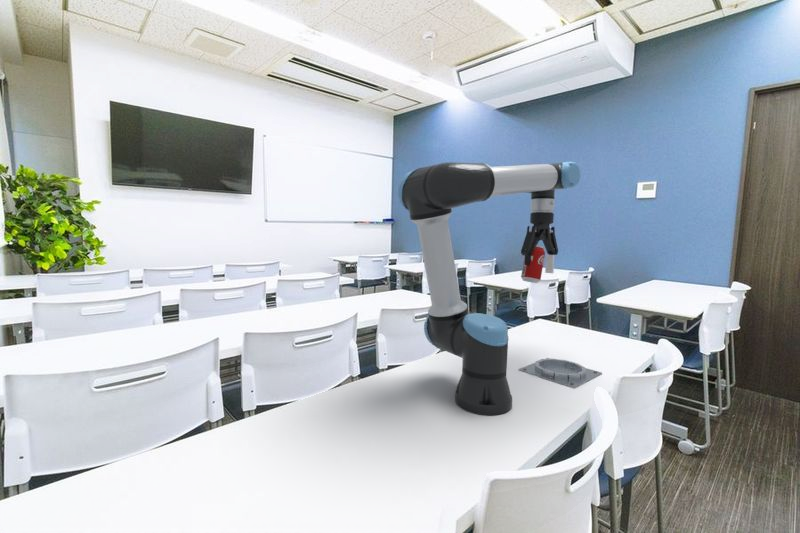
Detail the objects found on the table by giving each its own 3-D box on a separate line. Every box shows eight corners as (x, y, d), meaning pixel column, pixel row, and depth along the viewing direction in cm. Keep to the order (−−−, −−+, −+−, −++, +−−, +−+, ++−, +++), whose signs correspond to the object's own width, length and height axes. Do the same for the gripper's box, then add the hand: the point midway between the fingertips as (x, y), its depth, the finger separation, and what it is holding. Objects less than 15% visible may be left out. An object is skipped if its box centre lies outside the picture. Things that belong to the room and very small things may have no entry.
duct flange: (574, 388, 114) (575, 381, 114) (518, 370, 129) (518, 364, 129) (601, 374, 127) (602, 368, 127) (547, 359, 141) (547, 353, 141)
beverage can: (541, 282, 127) (548, 247, 128) (522, 279, 128) (528, 243, 128) (537, 283, 133) (543, 249, 134) (518, 280, 134) (524, 246, 135)
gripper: (532, 209, 121) (529, 277, 123) (570, 213, 137) (567, 273, 139) (511, 210, 127) (509, 275, 129) (550, 214, 143) (547, 271, 145)
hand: (539, 274), depth 134 cm, fingers open, 13 cm apart
